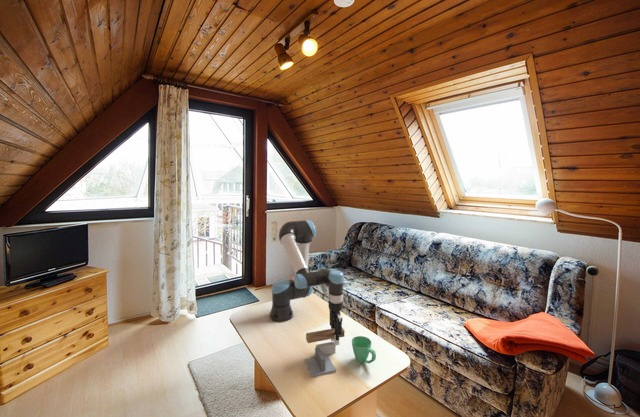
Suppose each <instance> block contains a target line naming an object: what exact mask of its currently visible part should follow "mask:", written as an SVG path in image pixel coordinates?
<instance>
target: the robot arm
mask: <svg viewBox="0 0 640 417" xmlns="http://www.w3.org/2000/svg"><path fill="white" fill-rule="evenodd" d="M316 236H317V229H316V226H315V224H314V223H313V221H312V220H309V219H308V220H305V219H303V220H293V221H287V222H285V223H283V224H282V226H281V227H280V229H279V231H278V239H279V243H280V244H281V245H282V246H283V247H284V251H285V253H286V255H287V257H288V260H289V262H290V264H291V266H292V269H293V271H294V275H293V276H292V278H291V279H292V280H291V281H290V280H289V279H280V280H277V281H275V282H274V283H273V284H272V287H271V298H272V299H271V301H272V303H271V304H272V306H271V309H270V312H269V318H270V320H272V321H273V322H279V323H280V322H287V321H290V320H291V319H292V318H293V317H294V313H293V309H292V306H291V300H293V301H294V300H298V299H302V298H303V299H304V298H307V297H309V296H310V295H312V292H313V287H317V286H322V285H326V287H328V295H327V297H328V310H329V326H330V329H333V328H335V333H334V339H330V342H334V346H340V337H339V335H341V331H342V328H343V326H342V325H343V317H341V311H342V309H343V308H344V307H343V306H344V273H343V272H342V271H341V270H337V269H336V270H335V269H334V270H331V269H329V268H327V267H323V266H322V267H320V268H319V269H318V270H316V271H315V270H314V271H310V269H309V257H310V256H309V255H310V244H311V243H312V242H313V239H315V237H316Z"/></svg>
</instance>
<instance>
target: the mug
mask: <svg viewBox="0 0 640 417" xmlns="http://www.w3.org/2000/svg"><path fill="white" fill-rule="evenodd" d="M371 347H372V341H371V339H370V338H368V337H367V336H362V335H358V336H354V337H353V338H352V339H351V348H352V350H353V355H354V358H355V359H356V362H357V363H359V364H371V363H373V362H375V361H376V359H377V358H376V357H377V353H376V351H375V349H373V348H371ZM370 354H371V359H369V360H368V357H369V355H370Z"/></svg>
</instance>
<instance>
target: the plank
mask: <svg viewBox="0 0 640 417" xmlns="http://www.w3.org/2000/svg"><path fill="white" fill-rule="evenodd" d="M334 333H335V328H333V329H331V328H328V329H327V328H326V329H322V330H315V331H310V332H306V333H305V340H306V342H307V344H311V343H316V342H323V341H327V340H331V339H334ZM343 337H345V329H344V328H343V327H342V331H341V335H339V338H343Z"/></svg>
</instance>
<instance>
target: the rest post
mask: <svg viewBox="0 0 640 417" xmlns="http://www.w3.org/2000/svg"><path fill="white" fill-rule="evenodd" d="M336 346H337V345H336ZM336 346H334V341H329V342H328V341H327V342H324V343H319V344H315V348H316V347H319V348H320V350H321V352H322V354H323V355H324V356H325V355H328V356H329V355H332V354H336Z"/></svg>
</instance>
